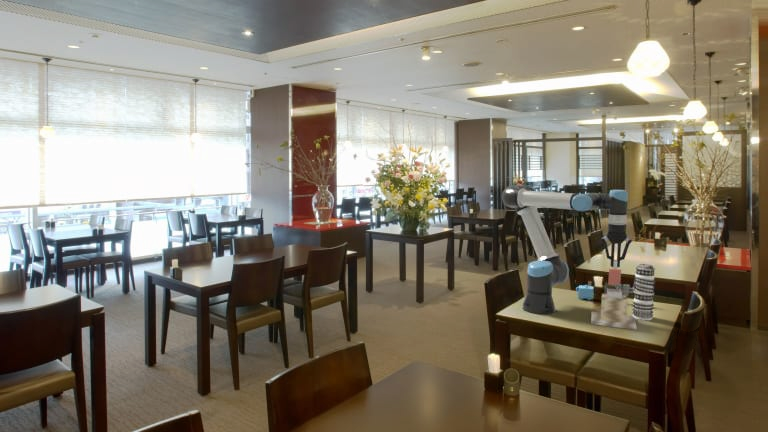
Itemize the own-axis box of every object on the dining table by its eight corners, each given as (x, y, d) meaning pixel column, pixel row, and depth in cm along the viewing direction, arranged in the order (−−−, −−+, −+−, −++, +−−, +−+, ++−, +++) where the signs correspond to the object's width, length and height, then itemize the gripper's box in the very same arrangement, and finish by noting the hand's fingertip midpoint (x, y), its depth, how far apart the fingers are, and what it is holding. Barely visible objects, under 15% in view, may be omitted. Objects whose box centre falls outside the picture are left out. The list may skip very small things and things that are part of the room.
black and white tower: (626, 315, 236) (629, 263, 233) (641, 313, 239) (644, 262, 237) (643, 321, 227) (646, 267, 225) (658, 319, 231) (661, 266, 228)
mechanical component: (636, 305, 254) (637, 286, 253) (615, 303, 256) (616, 284, 255) (635, 303, 257) (636, 284, 256) (613, 302, 259) (614, 283, 258)
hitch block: (591, 324, 222) (593, 288, 221) (591, 314, 237) (593, 281, 235) (636, 329, 215) (638, 292, 214) (633, 319, 230) (635, 284, 228)
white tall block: (606, 317, 224) (607, 291, 223) (605, 313, 230) (607, 288, 229) (620, 319, 222) (622, 292, 221) (620, 315, 227) (621, 289, 226)
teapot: (599, 299, 266) (600, 285, 265) (599, 301, 260) (600, 287, 259) (575, 296, 270) (576, 283, 270) (575, 299, 265) (575, 285, 264)
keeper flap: (609, 269, 229) (609, 268, 230) (608, 286, 231) (608, 285, 232) (621, 270, 227) (621, 269, 228) (620, 287, 229) (619, 286, 230)
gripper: (602, 224, 227) (599, 274, 230) (633, 225, 222) (631, 277, 225) (601, 222, 234) (599, 271, 237) (632, 223, 229) (629, 273, 232)
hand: (614, 273), depth 231 cm, fingers closed
